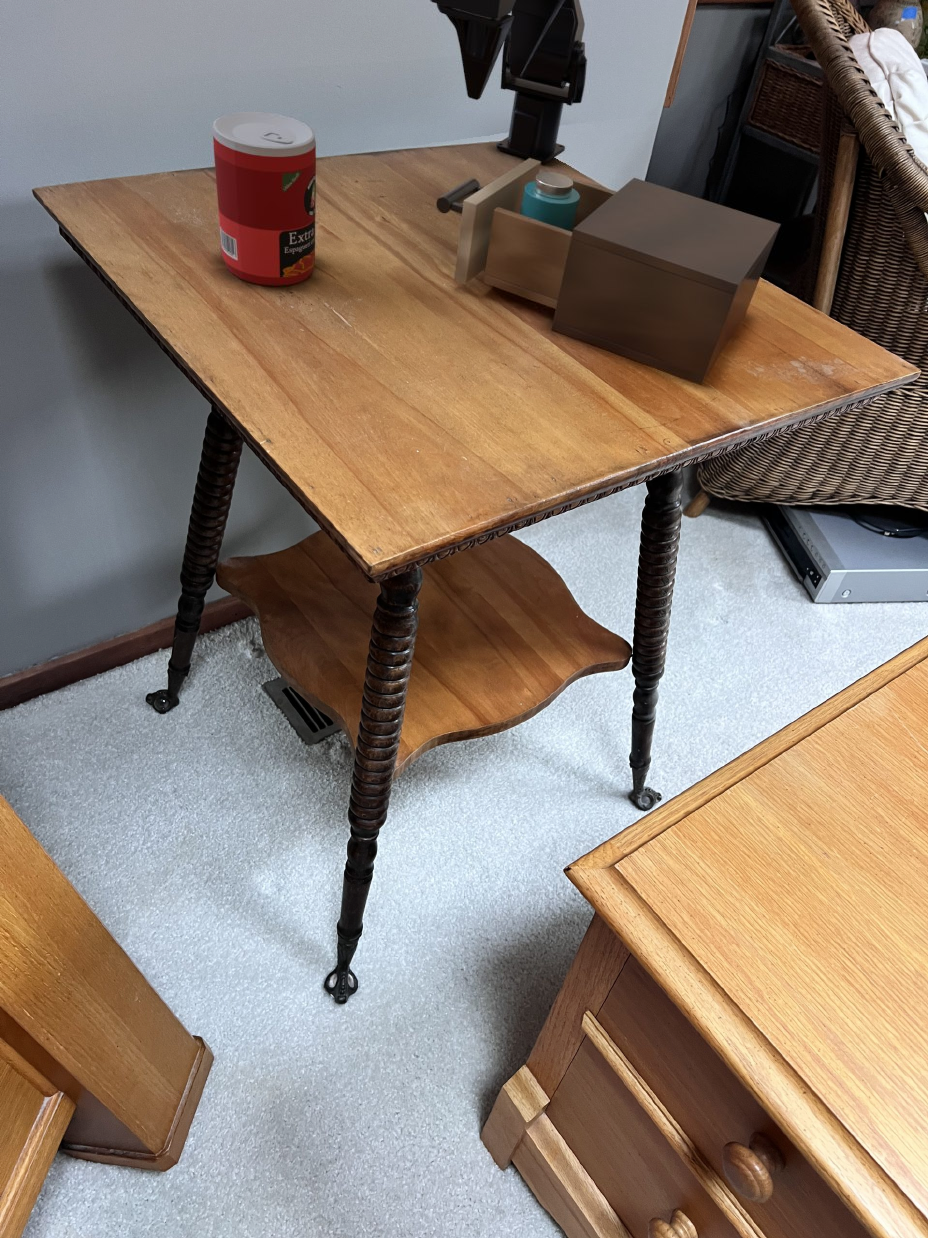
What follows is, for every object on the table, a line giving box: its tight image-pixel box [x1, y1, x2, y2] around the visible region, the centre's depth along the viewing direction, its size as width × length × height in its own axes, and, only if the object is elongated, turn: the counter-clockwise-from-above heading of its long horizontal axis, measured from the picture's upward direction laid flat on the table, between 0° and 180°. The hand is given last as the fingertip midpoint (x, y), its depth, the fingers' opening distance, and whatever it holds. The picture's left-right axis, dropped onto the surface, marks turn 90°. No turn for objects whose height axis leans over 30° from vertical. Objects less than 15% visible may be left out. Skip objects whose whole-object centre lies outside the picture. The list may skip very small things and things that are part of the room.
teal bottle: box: [520, 171, 580, 232], centre depth 76 cm, size 5×5×7 cm
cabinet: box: [550, 177, 782, 386], centre depth 74 cm, size 14×15×9 cm
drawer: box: [435, 158, 617, 310], centre depth 77 cm, size 17×13×7 cm
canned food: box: [212, 111, 317, 287], centre depth 71 cm, size 8×8×11 cm
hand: (495, 86), depth 80 cm, fingers open, 9 cm apart
